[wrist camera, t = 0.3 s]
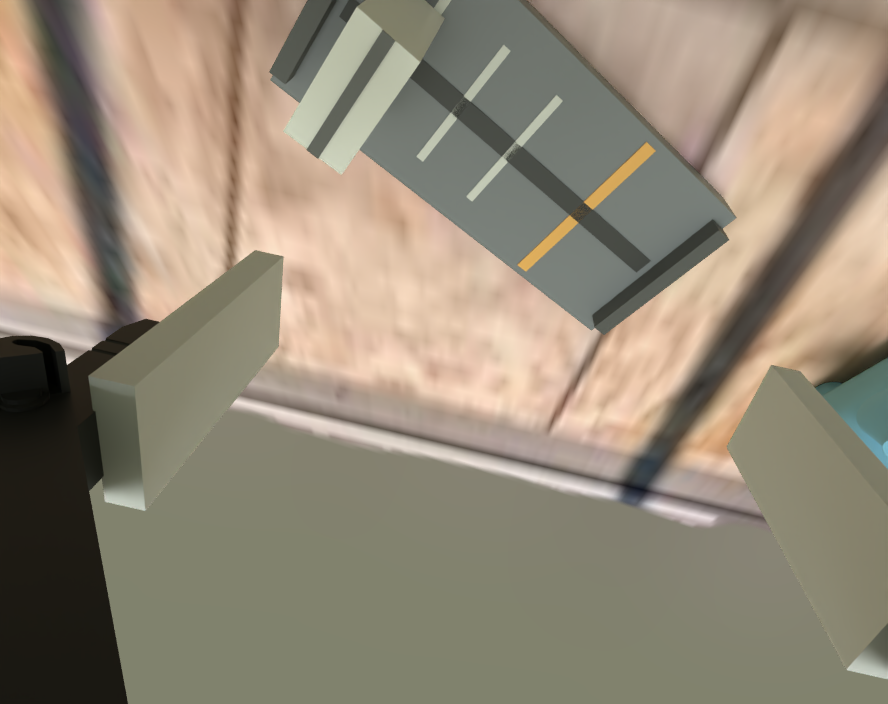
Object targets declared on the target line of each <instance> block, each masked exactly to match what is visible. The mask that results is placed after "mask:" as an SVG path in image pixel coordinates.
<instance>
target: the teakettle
mask: <svg viewBox="0 0 888 704" xmlns="http://www.w3.org/2000/svg"><path fill="white" fill-rule="evenodd" d="M815 389H816V390H817V391H818V392H819V393H820V394H821V395H822V396H823V398H824V399H825V400H826V401H827V402H828V403H829V404H830V405H831V407H832V408H833V409H834V410H835V411H836V412H837V413H838V414H839V415H840V417H841V418H842V419H843V420H844V421H845V422H846V423H847V424H848V425H849V427H850V428H851V429H852V430H853V431H854V432H855V433H856V434H857V436H858V437H859V438H860V439H861V440H862V441H863V442H864V443H865V444H866V446H867V447H868V448H869V449H870V450H871V451H872V452H873V453H874V454H875V456H876V457H877V458H878V459H879V460H880V461H881V462H882V463H883V465H884V466H885V467H886V468H887V469H888V357H887V358H886V359H884V360H882V361H881V362H879V363H877V364H875V365H874V366H872V367H870V368H868V369H867V370H865V371H863V372H862V373H860V374H858V375H856V376H855V377H853V378H851V379H850V380H848V381H846V382H844V383H843V384H842V383H840V382H828V383H824V384H821V385H819V386H817V387H816V388H815Z"/></svg>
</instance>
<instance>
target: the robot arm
mask: <svg viewBox="0 0 888 704" xmlns="http://www.w3.org/2000/svg"><path fill="white" fill-rule="evenodd" d="M282 275H283V256H279V255H274V254H270V253H265V252H261V251H256V250H255V251H254V252H252V253H251V254H250V255H248V256H247V257H246V258H244V259H243V260H242V261H240V262H239V263H238V264H236V265H235V266H234V267H232V268H231V269H230V270H228V271H227V272H226V273H224V274H223V275H222V276H220V277H219V278H218V279H216V280H215V281H214V282H212V283H211V284H210V285H209V286H207V287H206V288H205V289H203V290H202V291H201V292H199V293H198V294H197V295H195V296H194V297H193V298H191V299H190V300H189V301H187V302H186V303H185V304H183V305H182V306H181V307H179V308H178V309H177V310H175V311H174V312H173V313H171V314H170V315H169V316H167V317H166V318H165V319H163V320H162V321H161V322H158V321H153V320H149V319H144V320H141V321H138V322H135V323H132V324H129V325H126V326H123V327H121V328H120V329H119V330H117V331H116V332H114V333H113V334H111V335H110V336H109V337H107V338H106V340H105V341H101V342H100V343H98V344H97V345H96V346H94V347H93V348H92V350H91V351H90V350H88V351H87V352H85V353H84V354H83V355H81V356H80V357H78V358H77V359H75V360H74V361H72V362H71V363H70V364H68V365H67V364H66V357H65V351H64V349H63V348H62V346H61V345H60V344H59V343H57V342H55V341H53V340H51V339H49V338H43V337H37V336H10V337H4V338H0V704H128V702H127V696H126V690H125V686H124V679H123V674H122V669H121V663H120V658H119V652H118V647H117V642H116V637H115V630H114V625H113V619H112V614H111V609H110V603H109V598H108V592H107V587H106V581H105V576H104V571H103V565H102V560H101V554H100V549H99V543H98V538H97V532H96V527H95V521H94V516H93V510H92V505H91V500H90V494H89V490H90V489H92V488H93V486H94V485H95V484H96V483H97V482H98V481H99V480H100V479H101V478H102V482H103V490H104V497H105V502H109V503H113V504H118V505H122V506H126V507H131V508H136V509H140V510H144V511H146V510H147V508H148V507H149V506H150V505H151V503H152V502H153V501H154V500H155V498H156V497H157V496H158V494H160V492H161V491H162V490H163V489H164V487H165V486H166V485H167V484H168V482H169V481H170V480H171V479H172V477H173V476H174V475H175V474H176V472H177V471H178V470H179V469H180V468H181V466H182V465H183V464H184V462H185V461H186V460H187V459H188V457H189V456H190V455H191V454H192V453H193V452H194V450H195V449H196V448H197V447H198V445H199V444H200V443H201V442H202V440H203V439H204V438H205V437H206V435H207V434H208V433H209V432H210V431H211V429H212V428H213V427H214V425H215V424H216V423H217V422H218V421H219V419H220V418H221V417H222V416H223V414H224V413H225V412H226V411H227V410H228V408H229V407H230V406H231V405H232V403H233V402H234V401H235V400H236V399H237V397H238V396H239V395H240V394H241V392H242V391H243V390H244V389H245V387H246V386H247V385H248V384H249V382H250V381H251V380H252V379H253V378H254V376H255V375H256V374H257V373H258V371H259V370H260V369H261V368H262V366H263V365H264V364H265V363H266V362H267V360H268V359H269V358H270V357H271V355H272V354H273V353H274V352H275V350H276V349H277V348H278V346H279V328H280V310H281V293H282ZM727 449H728V451H729V453H730V454H731V456H732V458H733V460H734V462H735V464H736V466H737V467H738V469H739V471H740V473H741V475H742V477H743V479H744V480H745V482H746V484H747V486H748V488H749V490H750V492H751V494H752V495H753V497H754V499H755V501H756V503H757V505H758V507H759V508H760V510H761V512H762V514H763V516H764V518H765V520H766V521H767V523H768V525H769V527H770V529H771V531H772V533H773V535H774V536H775V538H776V540H777V542H778V543H779V546H780V548H781V549H782V551H783V553H784V555H785V557H786V559H787V561H788V562H789V564H790V565H791V568H792V570H793V572H794V573H795V575H796V577H797V579H798V581H799V583H800V584H801V587H802V588H803V590H804V592H805V594H806V596H807V598H808V600H809V602H810V603H811V605H812V607H813V609H814V611H815V613H816V615H817V616H818V618H819V620H820V622H821V624H822V626H823V628H824V629H825V631H826V633H827V635H828V637H829V639H830V641H831V643H832V644H833V646H834V648H835V650H836V652H837V654H838V655H839V657H840V659H841V661H842V663H843V665H844V667H845V669H846V670H849V671H854V672H858V673H862V674H867V675H871V676H876V677H880V678H884V679H888V469H887V468H886V467H885V466H884V465H883V463H882V462H881V461H880V460H879V459H878V458H877V457H876V456H875V454H874V453H873V452H872V451H871V450H870V449H869V448H868V447H867V446H866V444H865V443H864V442H863V441H862V440H861V439H860V438H859V437H858V436H857V434H856V433H855V432H854V431H853V430H852V429H851V428H850V427H849V425H848V424H847V423H846V422H845V421H844V420H843V419H842V418H841V417H840V415H839V414H838V413H837V412H836V411H835V410H834V409H833V408H832V407H831V405H830V404H829V403H828V402H827V401H826V400H825V399H824V398H823V396H822V395H821V394H820V393H819V392H818V391H817V390H816V389H815V388H814V386H813V385H812V384H811V383H810V382H809V381H808V380H807V379H806V378H805V376H804V375H803V374H802V373H801V372H800V371H796V370H792V369H787V368H783V367H778V366H774V365H771V366H770V368H769V370H768V372H767V374H766V376H765V377H764V379H763V381H762V383H761V385H760V387H759V388H758V390H757V392H756V394H755V396H754V398H753V399H752V401H751V403H750V405H749V407H748V409H747V410H746V412H745V414H744V416H743V418H742V420H741V421H740V423H739V425H738V427H737V429H736V431H735V432H734V434H733V436H732V438H731V440H730V442H729V443H728V445H727Z"/></svg>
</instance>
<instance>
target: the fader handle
mask: <svg viewBox="0 0 888 704" xmlns="http://www.w3.org/2000/svg"><path fill="white" fill-rule="evenodd" d="M444 19H445V18H444V17H443V16H441V15H440V14H439V13H438V12H437V11H436V10H435V9H434V8H433V7H432V6H431V5H430V4H429V3H427V2H426V1H425V0H365V1H364V2H363V3H361V4H360V5H358V6H357V7H356V9H355V11H354V12H353V14H352V16H351V17H350V19H349V21H348V22H347V24H346V26H345V28H344V29H343V31H342V33H341V34H340V36H339V38H338V39H337V41H336V43H335V44H334V46H333V48H332V50H331V51H330V53H329V55H328V56H327V58H326V60H325V61H324V63H323V65H322V66H321V68H320V70H319V72H318V73H317V75H316V77H315V78H314V80H313V82H312V83H311V85H310V87H309V88H308V90H307V92H306V94H305V95H304V97H303V99H302V100H301V102H300V104H299V105H298V107H297V109H296V110H295V112H294V114H293V116H292V117H291V119H290V121H289V122H288V124H287V126H286V127H285V129H284V132H285V133H286V134H288V135H289V136H290V137H292V138H293V139H294V140H296V141H297V142H298V143H299V144H301V145H302V146H303V147H305V148H306V149H307V151H308V152H310V153H311V154H312V155H314V156H315V157H316V158H319V159H321V160H322V161H323V162H325V163H326V164H327V165H329V166H330V167H331V168H333V169H334V170H335V171H337V172H338V173H339V174H341V175H342V173H343V172H344V171H345V169H346V168H347V166H348V165H349V163H350V162H351V161H352V159H353V158H354V156H355V155H356V153H357V152H358V151H359V149H360V148H361V146H362V145H363V143H364V142H365V141H366V139H367V138H368V136H369V135H370V133H371V132H372V131H373V129H374V128H375V126H376V125H377V123H378V122H379V121H380V119H381V118H382V116H383V115H384V113H385V112H386V111H387V109H388V108H389V106H390V105H391V103H392V102H393V101H394V99H395V98H396V96H397V95H398V93H399V92H400V91H401V89H402V88H403V86H404V85H405V83H406V82H407V81H408V79H409V78H410V76H411V75H412V73H413V72H414V71H415V69H416V68H417V66H418V65H419V63H420V62H421V60H422V58H423V57H424V55H425V53H426V51H427V50H428V48H429V46H430V44H431V42H432V41H433V39H434V37H435V35H436V33H437V32H438V30H439V28H440V26H441V25H442V23H443V21H444Z"/></svg>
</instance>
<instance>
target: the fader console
mask: <svg viewBox="0 0 888 704" xmlns="http://www.w3.org/2000/svg"><path fill="white" fill-rule="evenodd" d="M364 1H365V0H308V1H307V2H306V4H305V6H304V8H303V10H302V12H301V14H300V15H299V17H298V19H297V21H296V23H295V25H294V27H293V29H292V30H291V32H290V34H289V36H288V38H287V40H286V42H285V44H284V45H283V47H282V49H281V51H280V53H279V55H278V57H277V58H276V60H275V62H274V64H273V66H272V68H271V70H270V73H271V74H272V75H273V76H272V78H271V81H272V82H273V83H275V84H276V85H277V86H279V87H280V88H281V89H282V90H284V91H285V92H286V93H287V94H289V95H290V96H291V97H293V98H294V99H295V100H296V101H298V102H299V103H300V102H301V100H302V99H303V97H304V95H305V94H306V92H307V90H308V88H309V87H310V85H311V83H312V82H313V80H314V78H315V77H316V75H317V73H318V72H319V70H320V68H321V66H322V65H323V63H324V61H325V60H326V58H327V56H328V55H329V53H330V51H331V50H332V48H333V46H334V44H335V43H336V41H337V39H338V38H339V36H340V34H341V33H342V31H343V29H344V28H345V26H346V24H347V22H348V21H349V19H350V17H351V16H352V14H353V12H354V11H355V9H356V7H357V6H358V5H360V4H361V3H363V2H364ZM425 1H426V2H427V3H429V4H430V5H431V6H432V7H433V8H434V9H435V10H436V11H437V12H438V13H439V14H440V15H441V16H443V17H444V18H445V19H444V21H443V23H442V25H441V26H440V28H439V30H438V32H437V33H436V35H435V37H434V39H433V41H432V42H431V44H430V46H429V48H428V50H427V51H426V53H425V55H424V57H423V58H422V60H421V62H420V63H419V65H418V66H417V68H416V69H415V71H414V72H413V73H412V75H411V76H410V78H409V79H408V81H407V82H406V83H405V85H404V86H403V88H402V89H401V91H400V92H399V93H398V95H397V96H396V98H395V99H394V101H393V102H392V103H391V105H390V106H389V108H388V109H387V111H386V112H385V113H384V115H383V116H382V118H381V119H380V121H379V122H378V123H377V125H376V126H375V128H374V129H373V131H372V132H371V133H370V135H369V136H368V138H367V139H366V141H365V142H364V143H363V145H362V146H361V148H360V149H359V150H361V151H362V152H363V153H364V154H366V155H367V156H368V157H370V158H371V159H372V160H373V161H375V162H376V163H377V164H379V165H380V166H381V167H382V168H384V169H385V170H386V171H387V172H389V173H390V174H391V175H393V176H394V177H395V178H396V179H398V180H399V181H400V182H402V183H403V184H404V185H405V186H407V187H408V188H409V189H411V190H412V191H413V192H414V193H416V194H417V195H418V196H420V197H421V198H422V199H423V200H425V201H426V202H427V203H428V204H430V205H431V206H432V207H434V208H435V209H436V210H437V211H439V212H440V213H441V214H443V215H444V216H445V217H446V218H448V219H449V220H450V221H452V222H453V223H454V224H455V225H457V226H458V227H459V228H461V229H462V230H463V231H464V232H466V233H467V234H468V235H470V236H471V237H472V238H473V239H475V240H476V241H477V242H478V243H480V244H481V245H482V246H484V247H485V248H486V249H487V250H489V251H490V252H491V253H493V254H494V255H495V256H496V257H498V258H499V259H500V260H502V261H503V262H504V263H505V264H507V265H508V266H509V267H511V268H512V269H513V270H514V271H516V272H517V273H518V274H520V275H521V276H522V277H523V278H525V279H526V280H527V281H528V282H530V283H531V284H532V285H534V286H535V287H536V288H537V289H539V290H540V291H541V292H543V293H544V294H545V295H546V296H548V297H549V298H550V299H552V300H553V301H554V302H555V303H557V304H558V305H559V306H561V307H562V308H563V309H564V310H566V311H567V312H568V313H569V314H571V315H572V316H573V317H575V318H576V319H577V320H578V321H580V322H581V323H582V324H584V325H585V326H586V327H587V328H589V329H590V330H593V329H594V328H596V329H597V330H598V331H600V332H601V333H602V334H604V335H605V334H606V333H607V332H609V331H610V330H611V329H613V328H614V327H615V326H616V325H618V324H619V323H620V322H622V321H623V320H624V319H626V318H627V317H628V316H630V315H631V314H632V313H634V312H635V311H636V310H638V309H639V308H640V307H642V306H643V305H644V304H645V303H647V302H648V301H649V300H651V299H652V298H653V297H655V296H656V295H657V294H659V293H660V292H661V291H663V290H664V289H665V288H667V287H668V286H669V285H670V284H672V283H673V282H674V281H676V280H677V279H678V278H680V277H681V276H682V275H684V274H685V273H686V272H688V271H689V270H690V269H692V268H693V267H694V266H696V265H697V264H698V263H699V262H701V261H702V260H703V259H705V258H706V257H707V256H709V255H710V254H711V253H713V252H714V251H715V250H717V249H718V248H719V247H721V246H722V245H723V244H725V243H726V242H727V241H728V240H729V239H728V237H727V235H726V234H725V232H724V231H723V228H724V227H725V226H727V225H728V224H729V223H730V222H732V221H733V220H734V219H736V216H735V215H734V213H733V212H732V210H731V209H730V207H729V206H728V204H727V203H726V201H725V200H724V198H723V197H722V196H721V195H720V194H719V193H718V192H717V191H716V190H715V189H714V188H713V187H712V186H711V185H710V184H709V183H708V182H707V181H706V180H705V179H704V178H703V177H702V176H701V175H700V174H699V173H698V172H697V171H696V170H695V169H694V168H693V167H692V166H691V165H690V164H689V163H688V162H687V161H686V160H685V159H684V158H683V157H682V156H681V155H680V154H679V153H678V152H677V151H676V150H675V149H674V148H673V147H672V146H671V145H670V144H669V143H668V142H667V141H666V140H665V139H664V138H663V137H662V136H661V135H660V134H659V133H658V132H657V131H656V130H655V129H654V128H653V127H652V126H651V125H650V124H649V123H648V122H647V121H646V120H645V119H644V118H643V117H642V116H641V115H640V114H639V113H638V112H637V111H636V110H635V109H634V108H633V107H632V106H631V105H630V104H629V103H628V102H627V101H626V100H625V99H624V98H623V97H622V96H621V95H620V94H619V93H618V92H617V91H616V90H615V89H614V88H613V87H612V86H611V85H610V84H609V83H608V82H607V81H606V80H605V79H604V78H603V77H602V76H601V75H600V74H599V73H598V72H597V71H596V70H595V69H594V68H593V67H592V66H591V65H590V64H589V63H588V62H587V61H586V60H585V59H584V58H583V56H582V55H581V54H580V53H579V52H578V51H577V50H576V49H575V48H574V47H573V46H572V45H571V44H570V43H569V42H568V41H567V40H566V39H565V38H564V37H563V36H562V35H561V34H560V33H559V32H558V31H557V30H556V29H555V28H554V27H553V26H552V25H551V24H550V23H549V22H548V21H547V20H546V19H545V18H544V17H543V16H542V15H541V14H540V13H539V12H538V11H537V10H536V9H535V8H534V7H533V6H532V5H531V4H530V3H529V2H528V1H527V0H425Z"/></svg>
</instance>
